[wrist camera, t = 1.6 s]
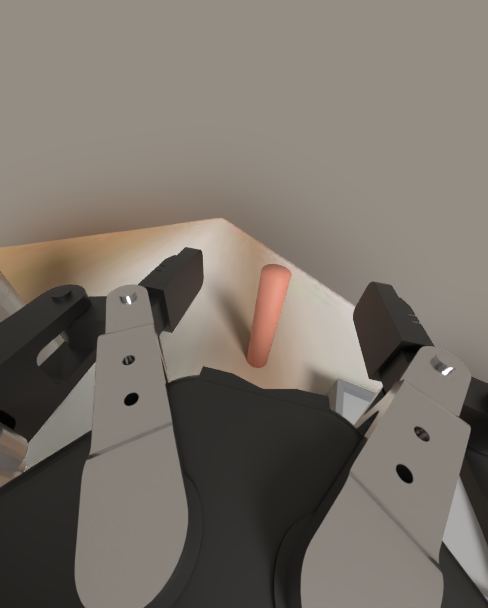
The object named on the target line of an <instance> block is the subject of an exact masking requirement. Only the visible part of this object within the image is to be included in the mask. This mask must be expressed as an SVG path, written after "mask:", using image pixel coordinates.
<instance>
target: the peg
mask: <svg viewBox="0 0 488 608" xmlns="http://www.w3.org/2000/svg"><path fill="white" fill-rule="evenodd" d="M290 278H291V272H290V270H289V269H287V268H286V267H284V266H281V265H276V264H269V265H266V266H264V267H263V268H262V271H261V277H260V283H259V289H258V295H257V300H256V306H255V312H254V318H253V324H252V330H251V336H250V341H249V347H248V353H247V361H248V363H249V364H250V365H251V366H253V367H256V368H260V367H263V366H264V365H265V364H266V363H267V359H268V356H269V352H270V349H271V345H272V342H273V338H274V335H275V331H276V328H277V324H278V320H279V317H280V313H281V310H282V306H283V303H284V299H285V296H286V292H287V289H288V285H289V282H290Z"/></svg>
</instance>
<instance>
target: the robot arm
mask: <svg viewBox="0 0 488 608" xmlns="http://www.w3.org/2000/svg"><path fill="white" fill-rule="evenodd" d="M203 279H204V275H203V255H202V251H201V250H199V249H193V248H188V247H185V248H184V249H183V250H182V251H181V252H180V253H179V254H178V255H177V256H176V255H174V256H171V257H169V258H167V259H165V260H164V261H163V262H162V263H161V264H160V265H159V266H157V267H156V268H155V269H154V270H153V271H152V272H151V273H150V274H149V275H148V276H147V277H145V278H144V279H143V280H142V281H141V282H140V283H139V284H138V285H126V286H122V287H119V288H116V289H115V290H113V291H111V292H110V293H109V294H108V296H99V297H88V295H87V293H86V291H85V289H84V288H83V287H81V286H78V285H64V286H59V287H56V288H53V289H50V290H48V291H47V292H45V293H43V294H42V295H40V296H39V297H37V298H36V299H34V300H33V301H31V302H30V303H28V304H26V303H25V302H24V301H23V299H22V298H21V297H20V295H19V294H18V293H17V292H16V290H15V289H14V288H13V286H12V285H11V284H10V283H9V281H8V280H7V279H6V278H5V277H4V275H3V274H2V273H1V271H0V608H488V601H487V599H486V598H485V597H484V595H483V594H482V593H481V591H480V590H479V589H478V587H477V586H476V585H475V583H474V582H473V581H472V579H471V578H470V577H469V575H468V574H467V573H466V571H465V570H464V569H463V567H462V566H461V565H460V563H459V562H458V561H457V559H456V558H455V557H454V555H453V554H452V553H451V551H450V550H449V549H448V547H447V546H446V545H445V543H444V542H443V541H442V539H443V535H444V531H445V527H446V524H447V520H448V516H449V512H450V508H451V504H452V501H453V497H454V493H455V489H456V485H457V481H458V478H459V476H460V478H461V481H462V483H463V486H464V488H465V491H466V493H467V496H468V498H469V501H470V503H471V505H472V508H473V510H474V513H475V515H476V518H477V520H478V523H479V525H480V528H481V530H482V533H483V535H484V537H485V540H486V542H487V545H488V383H485V382H483V381H480V380H478V379H476V378H473V377H471V374H470V372H469V370H468V368H467V367H466V366H465V365H464V364H463V363H462V362H461V361H460V360H459V359H458V358H456V357H455V356H453V355H452V354H450V353H448V352H447V351H445V350H442V349H440V348H437V347H435V346H434V345H433V343H432V341H431V340H430V338H429V336H428V335H427V333H426V331H425V330H424V328H423V327H422V325H421V324H419V320H418V319H417V317H416V316H415V314H414V312H413V310H412V309H411V307H410V306H409V305H408V304H407V303H406V302H405V301H403V300H402V299H401V298H399V297H398V296H397V294H396V292H395V290H394V289H393V287H392V286H391V285H389V284H383V283H378V282H371V283H370V284H369V285H368V286H367V288H366V289H365V291H364V293H363V295H362V297H361V298H360V300H359V302H358V304H357V305H356V307H355V310H354V313H353V321H354V325H355V328H356V332H357V336H358V340H359V343H360V347H361V351H362V355H363V358H364V362H365V366H366V369H367V373H368V377H369V379H372V380H376V381H381V382H382V384H383V387H382V388H381V389H380V390H379V391H378V392H377V393H376V395H375V396H374V398H373V399H372V401H371V402H370V403H369V405H368V406H367V408H366V409H365V411H364V412H363V413H362V415H361V416H360V418H359V419H358V420H357V422H356V423H355V424H354V425H353V424H352V423H350V422H349V421H348V420H347V419H346V418H344V417H343V416H342V415H340V414H339V413H337V412H336V411H334V410H332V409H330V404H329V397H327V396H323V395H318V394H314V393H310V392H306V391H302V390H298V389H262V388H259V387H257V386H256V385H254V384H252V383H250V382H248V381H246V380H244V379H242V378H240V377H238V376H236V375H234V374H232V373H228V372H224V371H220V370H216V369H212V368H208V367H204V366H203V368H202V370H201V373H200V375H194V376H187V377H183V378H179V379H176V380H173V381H171V382H169V378H168V374H167V369H166V365H165V360H164V355H163V351H162V346H161V341H160V337H159V335H160V334H161V332H162V331H167V332H171V333H172V332H173V331H174V329H175V328H176V326H177V324H178V323H179V321H180V320H181V318H182V317H183V315H184V314H185V312H186V311H187V309H188V308H189V306H190V305H191V303H192V301H193V300H194V298H195V297H196V295H197V294H198V292H199V291H200V289H201V287H202V284H203ZM59 334H60V335H61V336H62V337H63V339H64V340H65V342H64V343H63V344H62V345H61V346H58V344H57V343H56V342H55V340H54V338H56V337H57V336H58V335H59ZM95 361H96V373H95V390H94V407H93V424H92V430H91V431H89V432H88V433H86V434H84V435H83V436H81V437H80V438H78V439H76V440H75V441H73V442H71V443H70V444H68V445H67V446H65V447H63V448H62V449H60V450H59V451H57V452H55V453H54V454H52V455H51V456H49V457H47V458H46V459H44V460H43V461H41V462H39V463H38V464H36V465H35V466H33V467H31V468H30V469H28V470H27V471H25V472H23V471H24V469H25V465H26V464H25V461H24V458H25V456H26V453H27V449H28V443H29V442H30V440H31V439H32V438H33V437H34V435H35V434H36V433H37V432H38V431H39V429H40V428H41V427H42V426H43V424H44V423H45V422H46V421H47V420H48V418H49V417H50V416H51V415H52V414H53V412H54V411H55V410H56V409H57V407H58V406H59V405H60V404H61V403H62V401H63V400H64V399H65V398H66V397H67V395H68V394H69V393H70V392H71V390H72V389H73V388H74V387H75V386H76V384H77V383H78V382H79V381H80V380H81V378H82V377H83V376H84V375H85V373H86V372H87V371H88V370H89V369H90V367H91V366H92V365H93V364H94V363H95ZM22 472H23V473H22Z"/></svg>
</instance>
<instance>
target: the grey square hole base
mask: <svg viewBox="0 0 488 608" xmlns="http://www.w3.org/2000/svg"><path fill="white" fill-rule="evenodd" d="M375 395H376V394H375V393H373V392H370V391H368V390H365V389H362V388H360V387H357V386H355V385H352V384H350V383H347V382H345V381H342V380H340V379H338V380H337V381H336V382H335V384H334V385H333V386H332V388H331V389H330V390H329V392H328V393H327V397H329V404H330V409H332V410H334V411H336V412H337V413H339V414H340V415H342V416H343V417H344V418H346V419H347V420H348V421H349V422H350V423H352V424H353V425H354V424H355V423H356V422H357V420H358V419H359V418H360V416H361V415H362V413H363V412H364V411H365V409H366V408H367V406H368V405H369V403H370V402H371V401H372V399H373V398H374V396H375ZM442 541H443V542H444V543H445V545H446V546H447V547H448V549H449V550H450V551H451V553H452V554H453V555H454V557H455V558H456V559H457V561H458V562H459V563H460V565H461V566H462V567H463V569H464V570H465V571H466V573H467V574H468V575H469V577H470V578H471V579H472V581H473V582H474V583H475V585H476V586H477V587H478V589H479V590H480V591H481V593H482V594H483V595H484V597H485V598H486V599H487V601H488V545H487V542H486V540H485V537H484V535H483V533H482V530H481V528H480V525H479V523H478V520H477V518H476V515H475V513H474V510H473V508H472V505H471V503H470V501H469V498H468V496H467V493H466V491H465V488H464V486H463V483H462V481H461V478H460V476H459V478H458V481H457V485H456V489H455V493H454V497H453V501H452V504H451V508H450V512H449V516H448V520H447V524H446V527H445V531H444V535H443V539H442Z"/></svg>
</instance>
